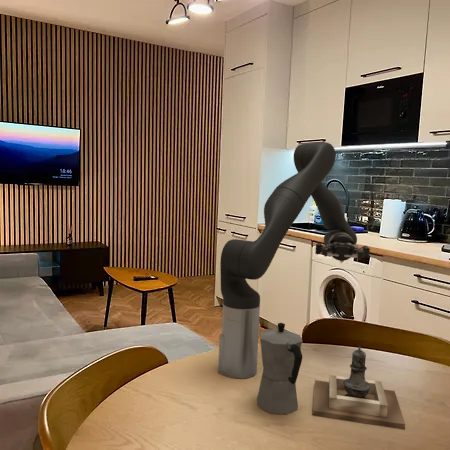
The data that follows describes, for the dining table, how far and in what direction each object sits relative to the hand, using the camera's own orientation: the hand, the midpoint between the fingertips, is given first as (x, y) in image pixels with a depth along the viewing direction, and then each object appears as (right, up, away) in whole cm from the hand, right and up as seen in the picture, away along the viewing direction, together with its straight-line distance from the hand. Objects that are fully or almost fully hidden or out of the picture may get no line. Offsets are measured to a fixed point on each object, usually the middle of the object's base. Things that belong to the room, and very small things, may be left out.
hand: (342, 253), depth 116 cm
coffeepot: (-19, -32, -21) cm, 42 cm away
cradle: (-2, -32, -19) cm, 37 cm away
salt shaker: (-2, -31, -19) cm, 36 cm away
